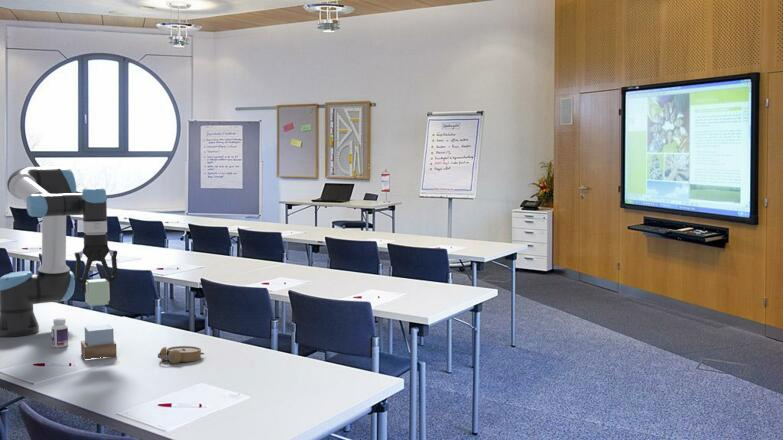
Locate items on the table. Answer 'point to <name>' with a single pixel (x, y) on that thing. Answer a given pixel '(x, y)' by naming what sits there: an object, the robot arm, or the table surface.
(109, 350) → the tower base
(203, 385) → the table surface
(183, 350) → the alarm clock
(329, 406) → the table surface
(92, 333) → the tower top
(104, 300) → the green block
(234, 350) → the table surface
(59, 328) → the pill bottle
